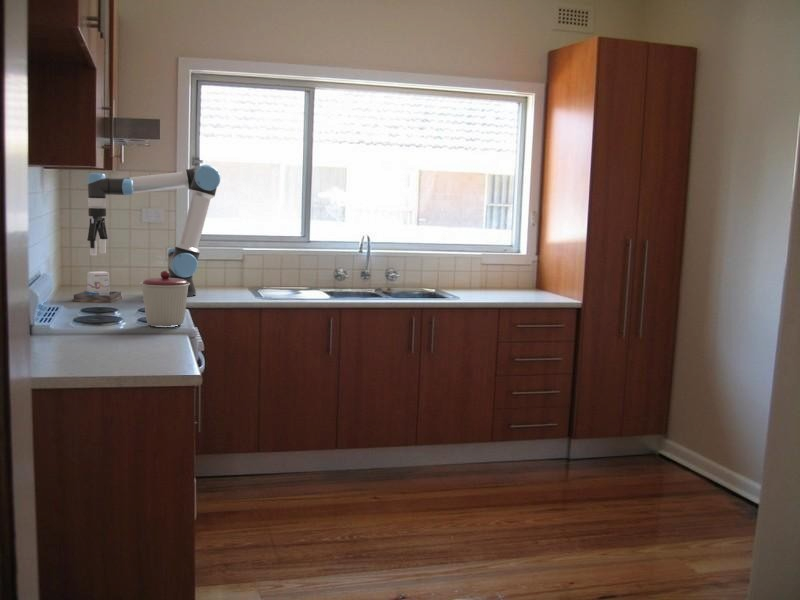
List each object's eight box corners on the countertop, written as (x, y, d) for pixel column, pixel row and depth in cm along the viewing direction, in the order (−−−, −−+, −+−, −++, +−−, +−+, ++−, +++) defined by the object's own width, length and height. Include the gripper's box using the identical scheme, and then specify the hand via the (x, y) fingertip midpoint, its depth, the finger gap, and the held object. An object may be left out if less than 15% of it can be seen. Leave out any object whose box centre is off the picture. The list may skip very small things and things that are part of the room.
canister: (197, 324, 323) (197, 270, 320) (176, 331, 305) (177, 274, 303) (154, 321, 326) (154, 267, 324) (131, 328, 309) (131, 271, 306)
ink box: (92, 298, 377) (92, 272, 376) (86, 297, 380) (86, 271, 379) (109, 297, 383) (109, 271, 382) (104, 296, 387) (104, 271, 385)
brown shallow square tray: (122, 297, 391) (122, 291, 391) (111, 302, 374) (111, 295, 374) (85, 296, 390) (85, 290, 390) (72, 301, 373) (72, 294, 373)
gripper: (97, 207, 389) (98, 252, 392) (79, 207, 364) (80, 256, 367) (113, 207, 389) (114, 252, 392) (96, 208, 365) (97, 256, 367)
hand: (98, 254), depth 380 cm, fingers open, 13 cm apart
